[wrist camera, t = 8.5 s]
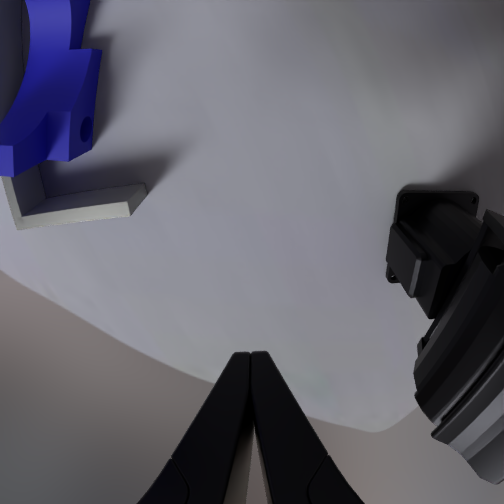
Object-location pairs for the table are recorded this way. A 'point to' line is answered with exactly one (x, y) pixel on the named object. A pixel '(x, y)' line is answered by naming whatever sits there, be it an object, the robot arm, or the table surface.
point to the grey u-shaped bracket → (29, 182)
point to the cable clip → (52, 90)
